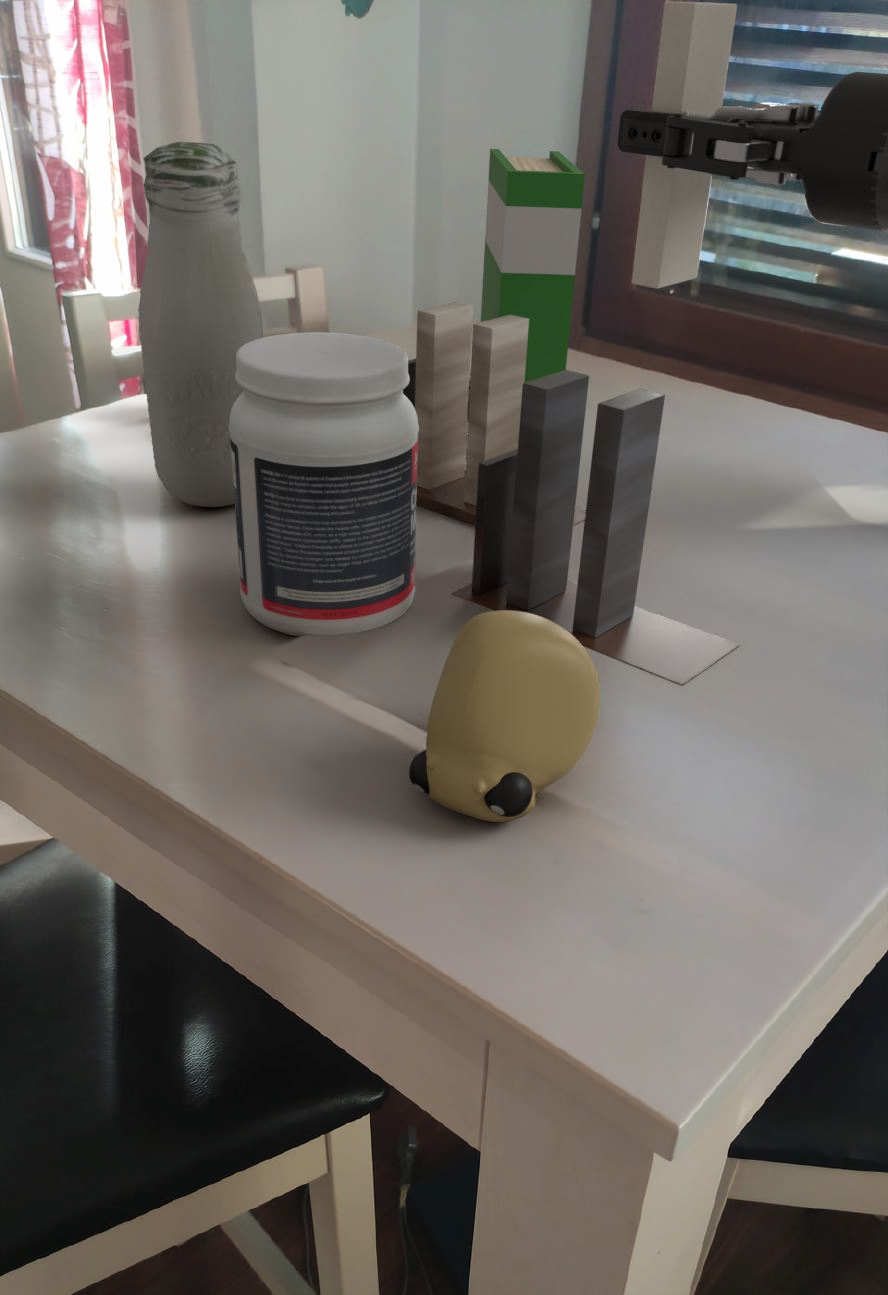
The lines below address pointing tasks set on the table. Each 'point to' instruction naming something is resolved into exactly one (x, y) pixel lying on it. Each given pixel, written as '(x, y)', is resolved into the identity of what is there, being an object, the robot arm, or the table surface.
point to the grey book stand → (541, 524)
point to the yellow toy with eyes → (506, 715)
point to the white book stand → (465, 402)
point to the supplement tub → (324, 482)
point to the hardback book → (533, 251)
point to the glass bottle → (194, 317)
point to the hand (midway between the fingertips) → (647, 127)
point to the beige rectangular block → (681, 195)
